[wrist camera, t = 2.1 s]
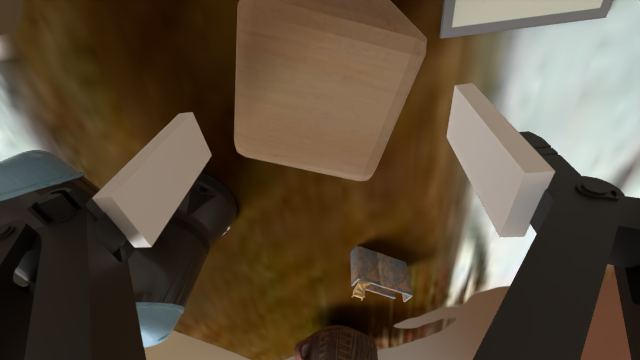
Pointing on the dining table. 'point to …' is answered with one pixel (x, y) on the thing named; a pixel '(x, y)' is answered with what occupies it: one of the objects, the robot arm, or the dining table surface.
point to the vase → (336, 345)
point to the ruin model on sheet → (379, 274)
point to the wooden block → (322, 81)
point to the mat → (514, 14)
